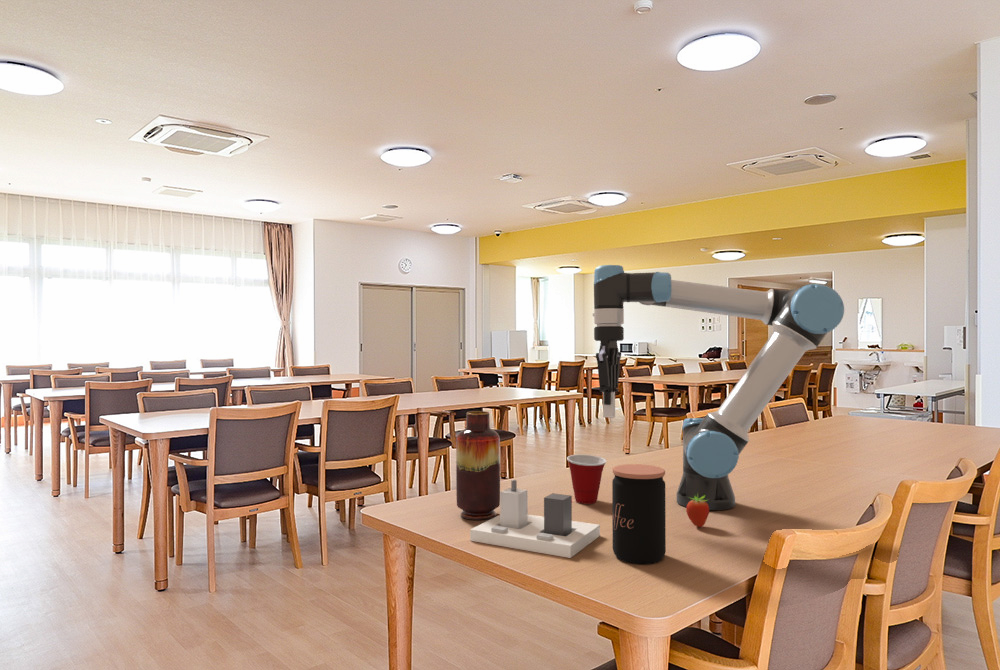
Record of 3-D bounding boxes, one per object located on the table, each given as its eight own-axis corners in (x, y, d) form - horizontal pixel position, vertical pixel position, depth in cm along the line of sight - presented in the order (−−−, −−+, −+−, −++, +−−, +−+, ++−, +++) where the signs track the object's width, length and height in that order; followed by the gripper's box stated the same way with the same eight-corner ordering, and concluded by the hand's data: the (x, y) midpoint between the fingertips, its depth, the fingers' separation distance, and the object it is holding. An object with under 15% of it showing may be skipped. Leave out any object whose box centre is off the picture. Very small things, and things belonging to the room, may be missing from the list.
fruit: (705, 531, 153) (705, 497, 153) (683, 528, 156) (683, 494, 156) (711, 525, 157) (711, 492, 157) (690, 522, 160) (690, 489, 160)
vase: (467, 523, 160) (467, 416, 160) (449, 513, 170) (449, 411, 170) (507, 517, 165) (507, 413, 165) (488, 507, 175) (487, 409, 175)
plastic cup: (586, 508, 173) (586, 463, 173) (558, 500, 182) (558, 457, 182) (615, 502, 180) (614, 458, 180) (587, 494, 188) (586, 452, 188)
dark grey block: (571, 540, 147) (571, 495, 147) (563, 546, 143) (563, 500, 143) (552, 537, 149) (552, 493, 149) (544, 543, 145) (544, 497, 145)
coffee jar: (606, 549, 141) (606, 464, 141) (655, 547, 142) (655, 463, 142) (620, 566, 130) (619, 475, 130) (673, 564, 131) (672, 473, 131)
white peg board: (599, 535, 150) (599, 481, 150) (570, 558, 135) (570, 497, 135) (506, 521, 162) (506, 470, 162) (470, 540, 147) (470, 484, 147)
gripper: (603, 326, 178) (604, 413, 178) (585, 325, 166) (586, 419, 166) (630, 325, 174) (631, 415, 174) (614, 325, 163) (614, 420, 163)
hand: (609, 417), depth 170 cm, fingers closed
